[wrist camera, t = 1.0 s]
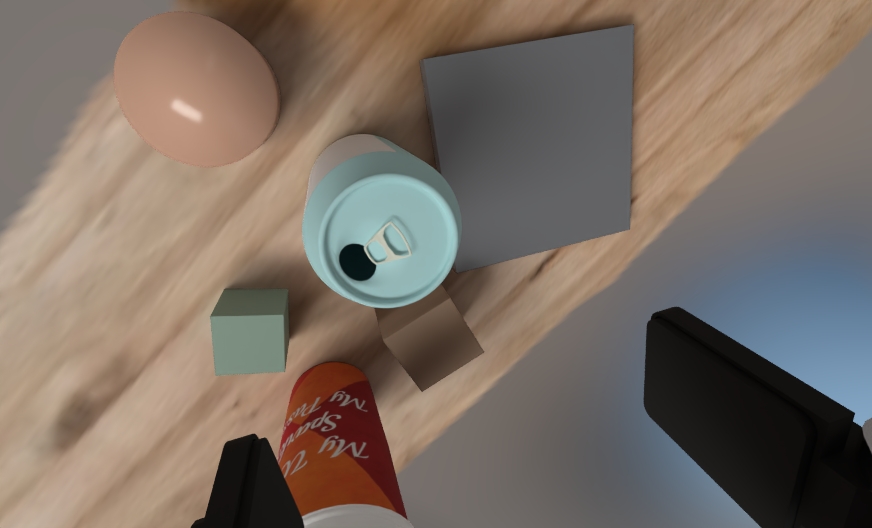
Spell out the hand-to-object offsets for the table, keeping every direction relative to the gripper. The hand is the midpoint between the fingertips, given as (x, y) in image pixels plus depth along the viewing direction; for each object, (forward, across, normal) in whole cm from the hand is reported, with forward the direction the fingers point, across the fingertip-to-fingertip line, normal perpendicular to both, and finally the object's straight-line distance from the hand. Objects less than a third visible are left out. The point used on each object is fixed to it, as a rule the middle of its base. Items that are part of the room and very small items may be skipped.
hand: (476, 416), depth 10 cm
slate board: (+21, -12, -1) cm, 24 cm away
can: (+21, 0, -1) cm, 21 cm away
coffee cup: (+21, +7, +14) cm, 26 cm away
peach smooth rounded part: (+21, +7, -8) cm, 24 cm away
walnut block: (+21, -1, +9) cm, 23 cm away
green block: (+21, +10, +6) cm, 24 cm away
